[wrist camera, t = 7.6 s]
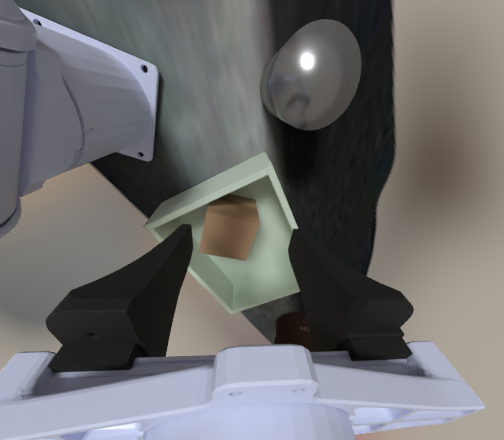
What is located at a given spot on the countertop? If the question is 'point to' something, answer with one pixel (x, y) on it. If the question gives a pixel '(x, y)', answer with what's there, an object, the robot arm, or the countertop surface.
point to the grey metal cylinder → (312, 75)
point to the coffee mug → (293, 330)
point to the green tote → (264, 244)
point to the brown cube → (230, 227)
